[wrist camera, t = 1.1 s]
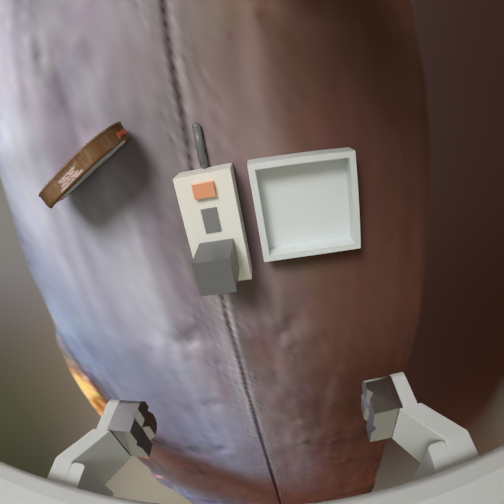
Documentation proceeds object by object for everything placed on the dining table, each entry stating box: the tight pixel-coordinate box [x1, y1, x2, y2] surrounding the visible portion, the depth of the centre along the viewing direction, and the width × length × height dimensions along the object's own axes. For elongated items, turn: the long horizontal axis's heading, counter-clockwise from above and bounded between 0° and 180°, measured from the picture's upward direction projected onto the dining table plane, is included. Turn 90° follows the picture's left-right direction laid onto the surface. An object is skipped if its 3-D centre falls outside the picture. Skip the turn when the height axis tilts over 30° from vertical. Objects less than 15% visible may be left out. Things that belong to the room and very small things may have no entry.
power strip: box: [173, 123, 252, 281], centre depth 41 cm, size 21×7×4 cm, turn 10°
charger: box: [191, 238, 239, 296], centre depth 40 cm, size 4×4×7 cm
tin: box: [39, 122, 129, 208], centre depth 36 cm, size 15×3×8 cm, turn 122°
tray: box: [247, 147, 361, 262], centre depth 41 cm, size 13×13×3 cm
